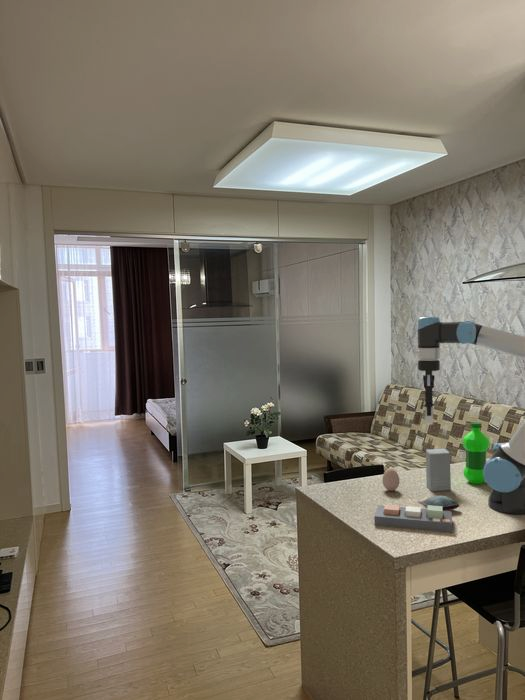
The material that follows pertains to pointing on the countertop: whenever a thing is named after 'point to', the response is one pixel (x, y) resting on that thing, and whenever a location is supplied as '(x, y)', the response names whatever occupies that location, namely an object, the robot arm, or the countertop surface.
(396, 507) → the terracotta key
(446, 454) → the skincare box
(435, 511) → the sage key
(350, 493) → the countertop surface
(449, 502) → the packaged food
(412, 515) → the cream key
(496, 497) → the robot arm
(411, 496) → the countertop surface
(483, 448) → the plastic bottle
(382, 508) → the keypad board
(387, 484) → the egg
